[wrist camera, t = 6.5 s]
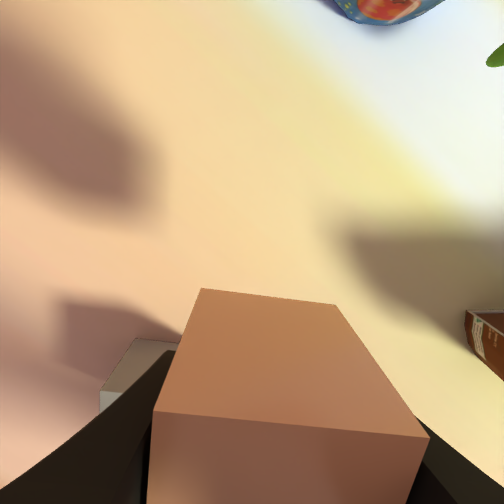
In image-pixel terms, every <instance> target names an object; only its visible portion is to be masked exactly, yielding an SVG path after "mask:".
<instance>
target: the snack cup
mask: <svg viewBox="0 0 504 504" xmlns="http://www.w3.org/2000/svg"><path fill="white" fill-rule="evenodd" d="M334 1H335V2H336V3H337V4H338V6H339V7H340V8H341V9H342V10H344V12H345V14H346V15H347V17H348V18H350V19H352V20H353V21H355V22H356V23H359V24H372V25H393V24H400V23H403V22H406V21H408V20H411V19H414V18H416V17H418V16H420V15H422V14H424V13H426V12H427V11H429V10H430V9H432V8H434V7H435V6H436V5H438V4H440V3H441V2H443V1H445V0H334ZM486 65H487V66H489V67H499V66H504V43H503V44H502V45H501V46H500V47H499V48H497V49H496V50H495V51H494V52H493V53H492V54H491V55H490V56H489V57H488V59H487V61H486Z"/></svg>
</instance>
